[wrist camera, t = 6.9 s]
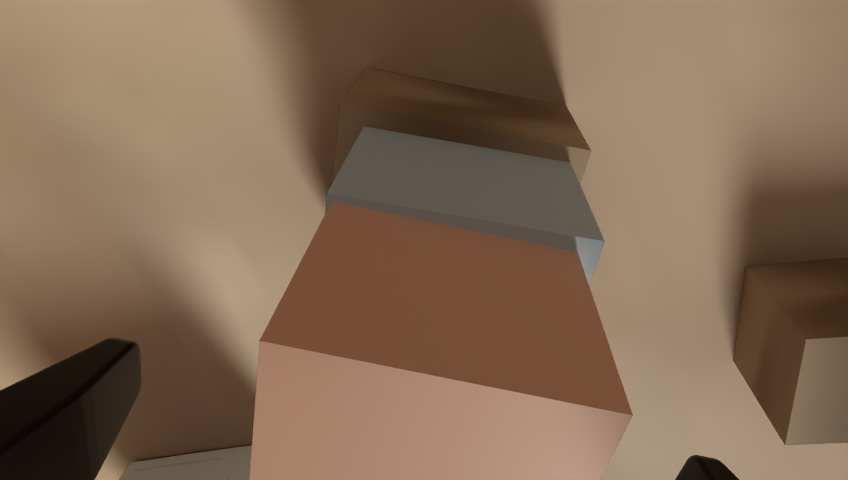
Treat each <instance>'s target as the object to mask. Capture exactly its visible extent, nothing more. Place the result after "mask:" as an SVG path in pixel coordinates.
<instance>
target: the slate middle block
mask: <svg viewBox="0 0 848 480" xmlns="http://www.w3.org/2000/svg"><path fill="white" fill-rule="evenodd" d="M332 201H334V202H339V203H344V204H349V205H354V206H358V207H363V208H368V209H373V210H378V211H382V212H387V213H392V214H397V215H402V216H407V217H411V218H416V219H421V220H426V221H431V222H435V223H440V224H445V225H450V226H455V227H459V228H464V229H469V230H474V231H479V232H484V233H488V234H493V235H498V236H503V237H508V238H512V239H517V240H522V241H527V242H532V243H537V244H541V245H546V246H551V247H556V248H561V249H565V250H570V251H575V252H578V254H579V257H580V260H581V263H582V266H583V269H584V272H585V275H586V278H587V281H588V284H590V281H591V279H592V276H593V273H594V270H595V267H596V264H597V262H598V259H599V256H600V253H601V250H602V247H603V245H604V242H605V241H604V239H603V236H602V234H601V232H600V229H599V227H598V225H597V223H596V220H595V218H594V216H593V213H592V211H591V209H590V206H589V204H588V202H587V200H586V197H585V195H584V193H583V190H582V188H581V186H580V184H579V181H578V179H577V177H576V174H575V172H574V170H573V167H572V165H571V163H570V162H564V161H559V160H553V159H547V158H541V157H536V156H530V155H524V154H519V153H513V152H507V151H502V150H496V149H490V148H485V147H479V146H473V145H468V144H462V143H456V142H450V141H445V140H439V139H433V138H428V137H422V136H416V135H411V134H405V133H399V132H394V131H388V130H382V129H377V128H371V127H365V126H364V127H363V129H362V131H361V133H360V134H359V136H358V138H357V140H356V142H355V143H354V145H353V147H352V149H351V151H350V152H349V154H348V156H347V158H346V160H345V161H344V163H343V165H342V167H341V169H340V170H339V172H338V174H337V176H336V178H335V180H334V181H333V183H332V185H331V187H330V189H329V190H328V192H327V200H326V212H327V210H328V208H329V206H330V204H331V202H332ZM326 212H325V214H326Z"/></svg>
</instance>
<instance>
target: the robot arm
mask: <svg viewBox="0 0 848 480" xmlns="http://www.w3.org/2000/svg"><path fill="white" fill-rule="evenodd" d="M140 387H141V362H140V348H139V345H138V344H137V343H136V342H134V341H129V340H125V339H120V338H108V339H106V340H104V341H102V342H99V343H97V344H95V345H93V346H91V347H89V348H87V349H85V350H83V351H81V352H79V353H77V354H75V355H73V356H71V357H68V358H66V359H64V360H62V361H60V362H58V363H56V364H54V365H52V366H50V367H48V368H46V369H44V370H42V371H40V372H37V373H35V374H33V375H31V376H29V377H27V378H25V379H23V380H21V381H19V382H17V383H15V384H13V385H11V386H9V387H6V388H4V389H2V390H0V480H95V478H96V476H97V474H98V472H99V470H100V469H101V467H102V465H103V463H104V461H105V459H106V457H107V455H108V453H109V451H110V449H111V447H112V445H113V443H114V441H115V439H116V437H117V435H118V433H119V431H120V429H121V427H122V425H123V423H124V421H125V419H126V417H127V415H128V414H129V412H130V410H131V408H132V406H133V404H134V402H135V400H136V398H137V396H138V393H139V390H140ZM675 480H739V479H738V478H737V477H736V476H735V475H734V474H733V473H732V472H731V471H730V470H729V469H728V468H727V467H726V466H725V465H724V464H723V463H722V462H720V461H719V460H717V459H714V458H709V457H704V456H699V455H693V456H691V457H690V458H688V460H687V461H686V463H685V464H684V466H683V468H682V469H681V471H680V473H679V474H678V476H677V478H676V479H675Z"/></svg>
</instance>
